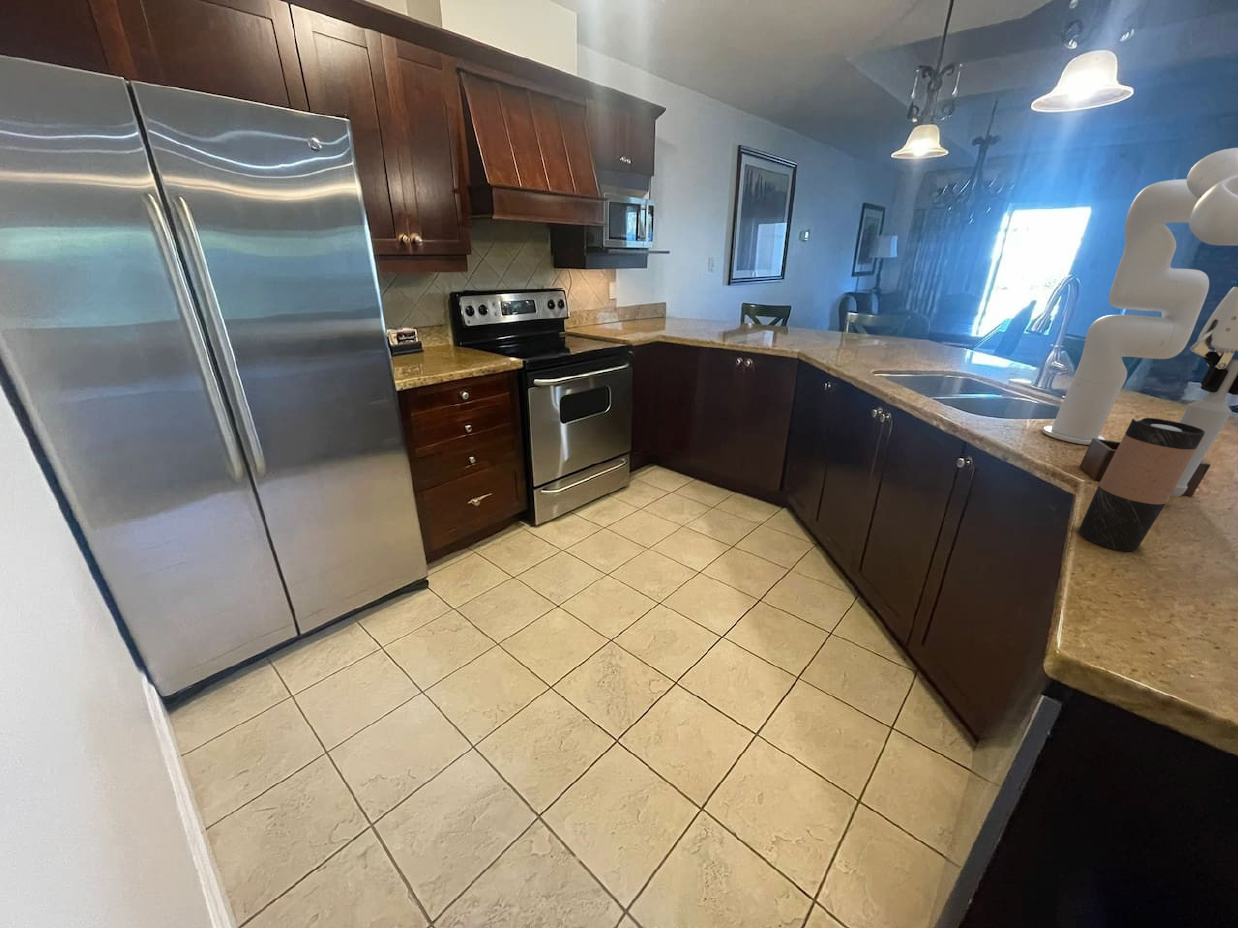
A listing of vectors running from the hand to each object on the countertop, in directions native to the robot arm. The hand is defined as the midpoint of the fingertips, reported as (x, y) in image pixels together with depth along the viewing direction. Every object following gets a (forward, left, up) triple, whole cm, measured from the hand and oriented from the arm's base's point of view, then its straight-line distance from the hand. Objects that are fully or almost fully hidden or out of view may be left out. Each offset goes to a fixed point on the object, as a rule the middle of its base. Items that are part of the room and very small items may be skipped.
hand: (1219, 391), depth 83 cm
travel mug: (+23, -15, -22) cm, 36 cm away
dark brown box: (-12, +1, -22) cm, 25 cm away
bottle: (0, 0, -20) cm, 20 cm away
